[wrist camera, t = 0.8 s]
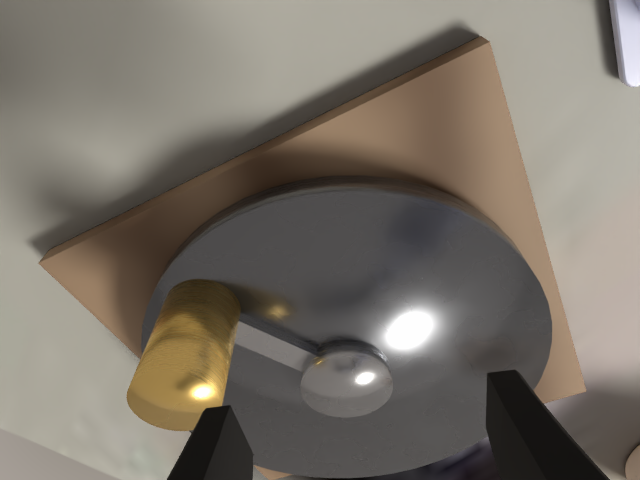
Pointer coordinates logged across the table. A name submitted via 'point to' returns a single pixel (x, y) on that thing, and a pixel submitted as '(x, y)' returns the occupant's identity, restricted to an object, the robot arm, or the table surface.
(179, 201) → the base plate
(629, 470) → the teacup with lid
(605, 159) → the table surface
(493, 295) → the handwheel
